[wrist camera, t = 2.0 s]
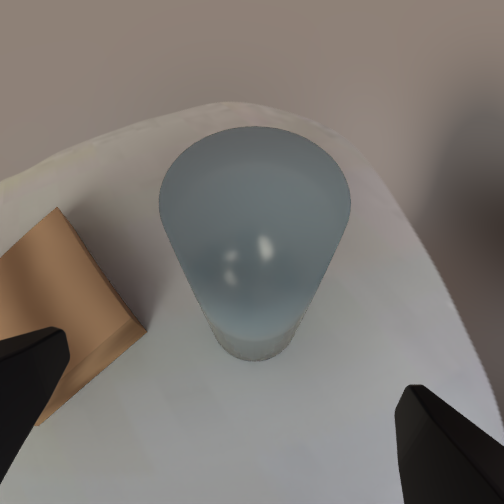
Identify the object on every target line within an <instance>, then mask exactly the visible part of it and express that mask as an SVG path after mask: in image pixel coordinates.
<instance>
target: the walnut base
mask: <svg viewBox="0 0 504 504" xmlns="http://www.w3.org/2000/svg"><path fill="white" fill-rule="evenodd" d="M50 326H54V327H57V328H60V329H63V330H64V331H65V333H66V336H67V341H68V346H69V350H70V361H69V363H68V365H67V367H66V369H65V371H64V373H63V375H62V377H61V379H60V381H59V383H58V384H57V386H56V388H55V390H54V392H53V394H52V396H51V398H50V400H49V402H48V404H47V405H46V407H45V409H44V410H43V412H42V413H41V415H40V417H39V418H38V420H37V421H36V423H35V425H34V426H39V425H40V424H41V423H42V422H44V421H45V420H46V419H47V418H48V417H49V416H51V415H52V414H53V413H54V412H55V411H56V410H57V409H59V408H60V407H61V406H62V405H63V404H64V403H65V402H67V401H68V400H69V399H70V398H71V397H72V396H74V395H75V394H76V393H77V392H78V391H79V390H80V389H82V388H83V387H84V386H85V385H86V384H87V383H89V382H90V381H91V380H92V379H93V378H94V377H95V376H97V375H98V374H99V373H100V372H101V371H102V370H104V369H105V368H106V367H107V366H108V365H109V364H111V363H112V362H113V361H114V360H115V359H116V358H117V357H119V356H120V355H121V354H122V353H123V352H124V351H126V350H127V349H128V348H129V347H130V346H131V345H133V344H134V343H135V342H136V341H137V340H138V339H140V338H141V337H142V336H143V335H144V334H145V333H147V331H146V330H145V329H144V327H143V326H142V325H141V324H140V322H139V321H138V320H137V318H136V317H135V316H134V315H133V313H132V312H131V311H130V309H129V308H128V307H127V305H126V304H125V303H124V301H123V300H122V299H121V297H120V296H119V294H118V293H117V292H116V290H115V289H114V288H113V286H112V285H111V283H110V282H109V281H108V279H107V278H106V276H105V275H104V273H103V272H102V271H101V269H100V268H99V266H98V265H97V263H96V262H95V260H94V259H93V257H92V256H91V254H90V253H89V251H88V250H87V248H86V247H85V245H84V243H83V242H82V240H81V239H80V237H79V236H78V234H77V232H76V231H75V229H74V228H73V227H72V225H71V224H70V223H69V221H68V220H67V219H66V218H65V216H64V215H63V214H62V212H61V211H60V210H59V208H58V207H56V208H55V209H54V210H53V211H52V212H50V213H49V214H48V215H47V216H46V217H45V218H43V219H42V220H41V221H40V222H39V223H38V224H36V225H35V226H34V227H33V228H32V229H31V230H30V231H29V232H27V233H26V234H25V235H24V236H23V237H22V238H21V239H20V240H19V241H18V242H17V243H16V244H14V245H13V246H12V247H11V248H10V249H9V250H8V251H7V252H6V253H5V254H4V255H3V256H2V257H1V258H0V340H3V339H7V338H10V337H14V336H17V335H21V334H25V333H28V332H32V331H35V330H39V329H43V328H46V327H50Z"/></svg>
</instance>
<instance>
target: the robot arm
mask: <svg viewBox="0 0 504 504" xmlns="http://www.w3.org/2000/svg"><path fill="white" fill-rule="evenodd" d="M69 361H70V350H69V346H68V341H67V336H66V333H65V331H64V330H63V329H60V328H57V327H54V326H50V327H46V328H43V329H39V330H35V331H32V332H28V333H25V334H21V335H17V336H14V337H10V338H7V339H3V340H0V484H1V482H2V480H3V479H4V477H5V475H6V473H7V471H8V469H9V468H10V466H11V464H12V462H13V460H14V459H15V457H16V455H17V453H18V452H19V450H20V448H21V446H22V445H23V443H24V441H25V440H26V438H27V436H28V435H29V433H30V431H31V430H32V428H33V426H34V425H35V423H36V421H37V420H38V418H39V417H40V415H41V413H42V412H43V410H44V409H45V407H46V405H47V404H48V402H49V400H50V398H51V396H52V394H53V392H54V390H55V388H56V386H57V384H58V383H59V381H60V379H61V377H62V375H63V373H64V371H65V369H66V367H67V365H68V363H69ZM395 427H396V440H397V455H398V466H399V473H400V479H401V485H402V492H403V498H404V504H504V446H503V445H501V444H500V443H499V442H497V441H496V440H495V439H493V438H492V437H491V436H489V435H488V434H487V433H485V432H484V431H483V430H481V429H480V428H479V427H477V426H476V425H475V424H474V423H472V422H471V421H470V420H468V419H467V418H466V417H464V416H463V415H462V414H460V413H459V412H458V411H456V410H455V409H454V408H452V407H451V406H450V405H449V404H447V403H446V402H445V401H443V400H442V399H441V398H439V397H438V396H437V395H435V394H434V393H433V392H431V391H430V390H429V389H428V388H426V387H425V386H423V385H408V386H407V387H406V388H405V390H404V392H403V394H402V396H401V398H400V400H399V403H398V405H397V407H396V409H395Z"/></svg>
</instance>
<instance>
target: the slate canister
mask: <svg viewBox="0 0 504 504" xmlns="http://www.w3.org/2000/svg"><path fill="white" fill-rule="evenodd" d="M350 207H351V199H350V191H349V187H348V184H347V181H346V179H345V177H344V174H343V172H342V171H341V169H340V168H339V166H338V165H337V163H336V162H335V161H334V160H333V159H332V157H331V156H330V155H329V154H327V153H326V152H325V151H324V150H323V149H322V148H320V147H319V146H318V145H316V144H315V143H313V142H311V141H310V140H308V139H306V138H304V137H302V136H299V135H297V134H294V133H292V132H289V131H285V130H281V129H277V128H270V127H257V126H254V127H240V128H233V129H228V130H224V131H221V132H218V133H215V134H212V135H210V136H207V137H205V138H203V139H201V140H200V141H198V142H196V143H194V144H193V145H192V146H190V147H189V148H187V149H186V150H185V151H184V152H183V153H182V154H181V155H180V156H179V157H178V158H177V159H176V160H175V161H174V162H173V164H172V165H171V167H170V168H169V170H168V171H167V173H166V175H165V177H164V179H163V182H162V186H161V189H160V195H159V211H160V216H161V221H162V223H163V226H164V229H165V231H166V233H167V236H168V238H169V240H170V242H171V245H172V247H173V249H174V251H175V254H176V256H177V258H178V260H179V262H180V265H181V267H182V269H183V271H184V273H185V275H186V278H187V280H188V282H189V284H190V286H191V288H192V290H193V292H194V295H195V297H196V299H197V301H198V303H199V305H200V307H201V309H202V311H203V313H204V315H205V317H206V319H207V321H208V323H209V325H210V327H211V329H212V331H213V333H214V335H215V337H216V339H217V341H218V343H219V344H220V345H221V347H222V348H223V349H224V350H225V351H226V352H228V353H229V354H231V355H232V356H234V357H236V358H239V359H241V360H245V361H263V360H267V359H270V358H272V357H274V356H276V355H278V354H279V353H281V352H282V351H283V350H284V349H285V348H286V347H287V346H288V345H289V343H290V342H291V340H292V338H293V336H294V334H295V332H296V330H297V328H298V327H299V325H300V323H301V321H302V319H303V317H304V315H305V313H306V311H307V309H308V307H309V305H310V303H311V301H312V299H313V297H314V295H315V293H316V291H317V288H318V286H319V284H320V282H321V280H322V278H323V276H324V274H325V272H326V270H327V268H328V265H329V263H330V261H331V259H332V257H333V255H334V252H335V250H336V248H337V246H338V244H339V241H340V239H341V237H342V235H343V233H344V230H345V228H346V225H347V223H348V219H349V215H350Z"/></svg>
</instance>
